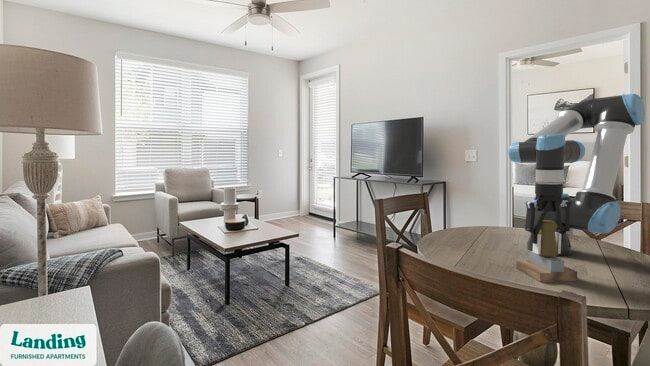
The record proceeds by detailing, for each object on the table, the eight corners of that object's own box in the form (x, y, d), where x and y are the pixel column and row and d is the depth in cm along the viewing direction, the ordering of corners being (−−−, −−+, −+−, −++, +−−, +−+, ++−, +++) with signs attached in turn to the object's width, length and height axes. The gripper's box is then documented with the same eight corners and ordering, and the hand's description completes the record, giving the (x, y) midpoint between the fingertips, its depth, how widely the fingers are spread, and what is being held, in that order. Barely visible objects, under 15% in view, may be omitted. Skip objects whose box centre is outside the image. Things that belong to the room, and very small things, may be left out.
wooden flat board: (549, 269, 116) (549, 259, 115) (577, 282, 104) (577, 271, 103) (516, 270, 115) (516, 260, 115) (539, 284, 103) (540, 273, 103)
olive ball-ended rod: (549, 257, 104) (551, 223, 103) (531, 252, 110) (532, 219, 109) (561, 254, 107) (563, 221, 106) (543, 249, 112) (544, 218, 111)
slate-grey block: (540, 260, 114) (541, 250, 114) (563, 271, 103) (564, 261, 103) (529, 260, 114) (529, 250, 114) (550, 272, 103) (551, 261, 103)
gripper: (568, 180, 110) (566, 248, 112) (513, 182, 110) (511, 250, 112) (587, 182, 103) (583, 255, 105) (527, 184, 102) (525, 257, 104)
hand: (546, 252), depth 108 cm, fingers closed on olive ball-ended rod, 6 cm apart
